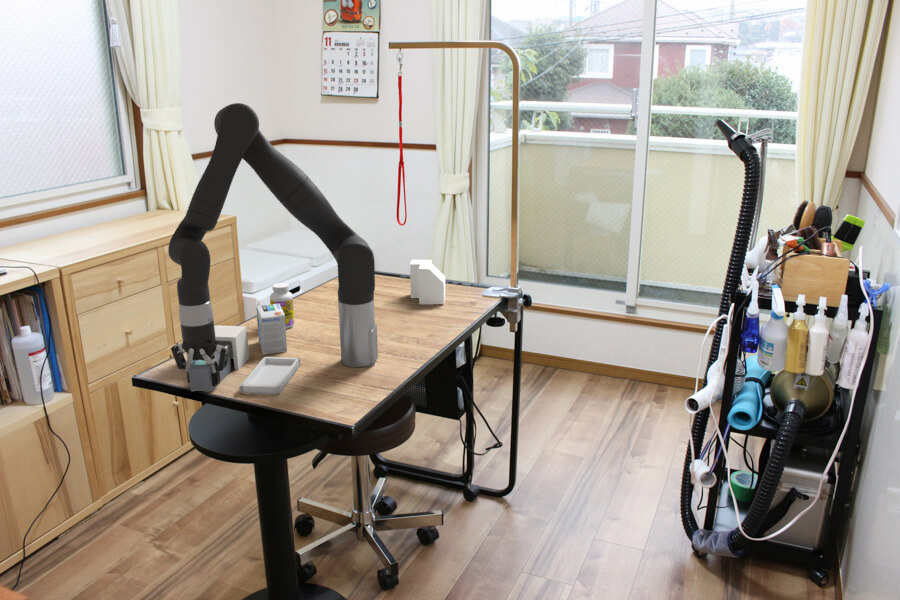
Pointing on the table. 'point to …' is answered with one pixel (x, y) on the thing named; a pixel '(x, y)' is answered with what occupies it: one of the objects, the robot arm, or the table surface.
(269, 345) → the light bulb box
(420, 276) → the corner bracket
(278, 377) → the tray
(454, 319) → the table surface
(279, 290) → the supplement bottle
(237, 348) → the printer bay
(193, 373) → the slab with teal patch
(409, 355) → the table surface
